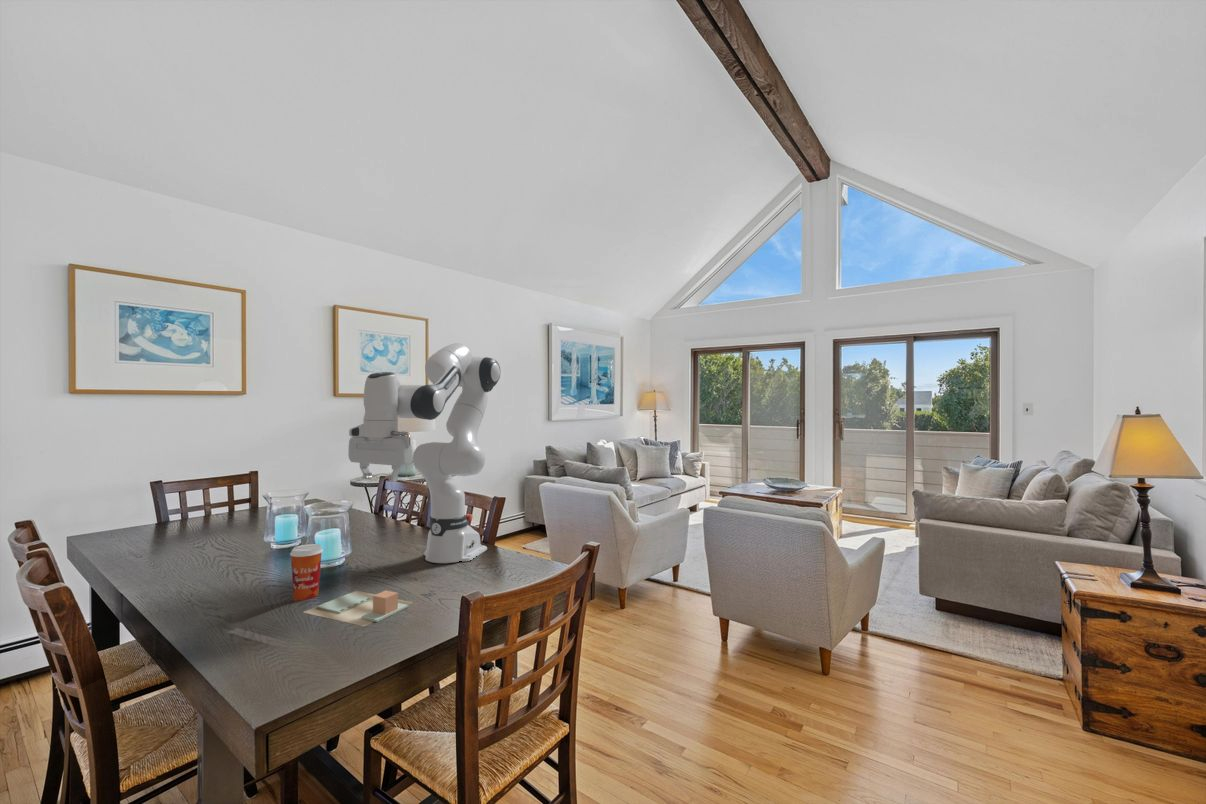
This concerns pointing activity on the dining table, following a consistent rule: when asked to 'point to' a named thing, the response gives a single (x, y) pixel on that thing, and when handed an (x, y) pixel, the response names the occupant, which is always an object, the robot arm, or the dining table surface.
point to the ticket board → (348, 608)
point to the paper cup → (306, 570)
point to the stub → (384, 606)
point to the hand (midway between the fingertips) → (380, 480)
